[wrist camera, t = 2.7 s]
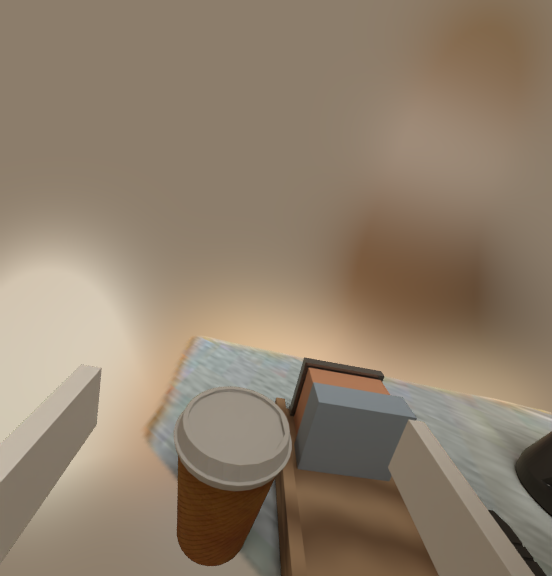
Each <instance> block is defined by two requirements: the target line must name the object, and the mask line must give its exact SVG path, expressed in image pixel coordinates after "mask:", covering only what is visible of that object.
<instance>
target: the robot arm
mask: <svg viewBox="0 0 552 576" xmlns="http://www.w3.org/2000/svg"><path fill="white" fill-rule="evenodd" d="M100 377H101V368H99V367H93V366H87V365H80V366H79V367H78V368H77V369H76V370H75V371H74V372H73V373H72V374H71V375H70V376H69V377H68V378H67V379H66V380H65V381H64V382H63V383H62V384H61V385H60V386H59V387H58V388H57V389H56V390H55V391H54V392H53V393H52V394H51V395H50V396H49V397H48V398H47V399H46V400H44V402H42V403H41V404H40V405H39V406H38V407H37V408H36V409H35V410H34V411H33V412H32V413H31V414H30V415H29V416H28V417H27V418H26V419H25V420H24V421H23V422H22V423H21V424H20V425H19V426H18V427H17V428H16V429H15V430H14V431H13V432H12V433H11V434H10V435H9V436H8V437H7V438H6V439H5V440H4V441H3V442H2V443H1V444H0V564H1V562H2V561H3V560H4V558H5V557H6V555H7V554H8V552H9V551H10V549H11V548H12V546H13V545H14V544H15V542H16V541H17V539H18V538H19V536H20V535H21V533H22V532H23V531H24V529H25V528H26V526H27V525H28V523H29V522H30V520H31V519H32V517H33V516H34V515H35V513H36V512H37V510H38V509H39V507H40V506H41V504H42V503H43V501H44V500H45V499H46V497H47V496H48V494H49V493H50V491H51V490H52V488H53V487H54V486H55V484H56V483H57V481H58V480H59V478H60V477H61V475H62V474H63V473H64V471H65V470H66V468H67V467H68V465H69V464H70V462H71V460H72V459H73V458H74V456H75V455H76V454H77V452H78V451H79V449H80V448H81V446H82V445H83V444H84V442H85V441H86V439H87V438H88V436H89V435H90V433H91V432H92V431H93V429H94V428H95V426H96V424H97V413H98V402H99V391H100V379H101V378H100ZM388 469H389V471H390V473H391V475H392V477H393V479H394V481H395V484H396V486H397V488H398V490H399V492H400V494H401V496H402V498H403V500H404V503H405V505H406V507H407V509H408V511H409V513H410V515H411V517H412V520H413V522H414V524H415V526H416V528H417V530H418V532H419V534H420V537H421V539H422V541H423V543H424V545H425V547H426V549H427V551H428V553H429V556H430V558H431V560H432V562H433V564H434V566H435V568H436V570H437V573H438V575H439V576H546V574H545V573H544V572H543V570H542V569H541V568H540V566H539V565H538V564H537V562H534V560H533V557H532V556H531V554H530V553H529V552H528V550H527V549H526V548H525V547H523V546H522V542H521V541H520V540H519V538H518V537H517V536H516V534H515V533H514V532H513V530H512V529H511V528H510V526H509V525H508V524H506V523H505V522H504V521H503V520H502V519H501V518H500V517H499V516H498V515H497V514H496V513H495V512H494V511H492V510H487V508H486V507H485V506H484V504H483V503H482V502H481V500H480V499H479V497H478V496H477V495H476V493H475V492H474V490H473V489H472V488H471V486H470V485H469V483H468V482H467V481H466V479H465V478H464V477H463V475H462V474H461V472H460V471H459V470H458V468H457V467H456V465H455V464H454V463H453V461H452V460H451V459H450V457H449V456H448V454H447V453H446V452H445V450H444V449H443V447H442V446H441V445H440V443H439V442H438V441H437V439H436V438H435V436H434V435H433V434H432V432H431V431H430V429H429V428H428V427H427V425H426V424H425V423H424V422H421V421H415V420H409V419H408V422H407V424H406V426H405V429H404V431H403V433H402V436H401V438H400V440H399V443H398V445H397V447H396V450H395V452H394V454H393V457H392V459H391V461H390V464H389V466H388ZM516 471H517V474H518V476H519V478H520V480H521V482H522V483H523V485H524V486H525V488H526V489H527V490H528V492H529V493H530V494H531V495H532V496H533V498H534V499H535V500H536V501H537V502H538V503H539V504H540V505H541V506H542V507H543V508H544V509H545V510H546V511H547V512H548V513H550V514H551V515H552V432H550V433H549V434H547V435H546V436H544V437H543V438H541V439H540V440H538V441H537V442H535V443H534V444H532V445H531V446H529V447H528V448H526V449H525V450H524V451H523V453H522V454H521V456H520V458H519V459H518V461H517V463H516Z"/></svg>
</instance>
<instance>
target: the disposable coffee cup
mask: <svg viewBox="0 0 552 576" xmlns="http://www.w3.org/2000/svg"><path fill="white" fill-rule="evenodd" d="M174 442H175V447H176V451H177V453H178V506H177V510H178V511H177V537H178V542H179V545H180V547H181V549H182V551H183V552H184V553H185V555H186V556H188V558H190V559H191V560H192V561H194V562H196V563H198V564H201V565H205V566H217V565H221V564H223V563H226V562H228V561H229V560H231V559H233V558H234V557H235V555H236V554H237V553H238V552H239V551H240V550H241V548H242V546H243V544H244V542H245V540H246V537H247V535H248V534H249V532H250V529H251V527H252V525H253V523H254V521H255V519H256V517H257V515H258V513H259V511H260V509H261V506H262V504H263V502H264V500H265V498H266V496H267V493H268V492H269V489H270V487H271V485H272V483H273V481H274V479H275V477H276V476H277V475H278V474H279V473H280V472H281V471H282V470H283V468H284V467H285V466H286V464H287V462H288V460H289V458H290V454H291V450H292V440H291V435H290V430H289V423H288V421H287V418H286V416H285V414H284V413H283V411H282V410H281V409H280V408H279V406H278V405H276V404H275V403H274V402H273V401H272V400H271V399H269V398H267V397H266V396H264V395H262V394H260V393H258V392H255V391H253V390H249V389H245V388H240V387H218V388H213V389H209V390H207V391H204V392H202V393H200V394H199V395H197V396H196V397H194V398H193V399H192V400H191V401H190V402H189V404H188V405H187V407H186V409H185V410H184V411H183V412H182V413H181V415H180V416H179V418H178V420H177V422H176V425H175V429H174Z"/></svg>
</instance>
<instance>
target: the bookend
mask: <svg viewBox="0 0 552 576" xmlns="http://www.w3.org/2000/svg"><path fill="white" fill-rule="evenodd" d="M308 368H314V369H320V370H326V371H331V372H337V373H343V374H348V375H354V376H360V377H365V378H371V379H377V380H381V382H382V381H383V379H384V375H383V374H382V372H381V371H376V370H370V369H365V368H360V367H354V366H348V365H343V364H337V363H332V362H326V361H320V360H315V359H309V358H304V360H303V364H302V367H301V371H300V374H299V378H298V381H297V385H296V388H295V392H294V395H293V398H292V402H291V405H290V406H289V412H290V416H294V415H295V412H296V409H297V405H298V402H299V398H300V395H301V392H302V388H303V385H304V382H305V378H306V375H307V372H308Z"/></svg>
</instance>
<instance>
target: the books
mask: <svg viewBox="0 0 552 576" xmlns="http://www.w3.org/2000/svg"><path fill="white" fill-rule="evenodd" d="M408 419H409V420H415V421H416V419H417V418H416V416H415V415H414V413H413V412H412V410H411V409H410V408H409V406H408V405H407V403H406V402H405V400H404V399H403V397H397V396H392V395H390V394H389V393H388V391H387V389H386V388H385V386H384V385H383V383H382V382H381V380H377V379H371V378H365V377H360V376H354V375H348V374H343V373H337V372H331V371H326V370H320V369H314V368H308V372H307V375H306V378H305V382H304V385H303V388H302V392H301V395H300V398H299V402H298V405H297V409H296V412H295V415H294V422H295V429H296V435H297V437H296V440H295V443H294V447H295V454H296V461H297V468H298V469H301V470H308V471H316V472H323V473H330V474H338V475H345V476H353V477H360V478H368V479H375V480H382V481H390V479H391V476H392V475H391V473H390V471H389V469H388V466H389V464H390V461H391V459H392V457H393V454H394V452H395V450H396V447H397V445H398V443H399V440H400V438H401V436H402V433H403V431H404V429H405V426H406V424H407V422H408Z"/></svg>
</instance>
